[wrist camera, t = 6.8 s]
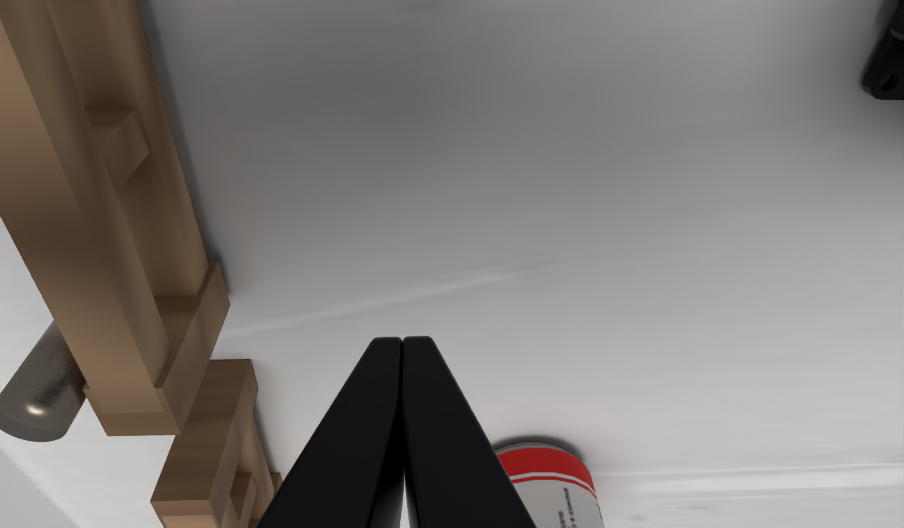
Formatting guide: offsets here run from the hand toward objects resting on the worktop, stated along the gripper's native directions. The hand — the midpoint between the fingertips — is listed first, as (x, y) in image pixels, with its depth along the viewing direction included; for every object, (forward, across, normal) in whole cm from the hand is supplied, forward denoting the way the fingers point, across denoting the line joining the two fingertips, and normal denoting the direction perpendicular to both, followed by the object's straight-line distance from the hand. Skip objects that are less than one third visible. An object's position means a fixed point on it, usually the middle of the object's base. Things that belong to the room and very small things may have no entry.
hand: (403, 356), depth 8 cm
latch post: (+10, +10, +6) cm, 16 cm away
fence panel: (+10, +8, +16) cm, 20 cm away
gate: (+10, +7, 0) cm, 12 cm away
